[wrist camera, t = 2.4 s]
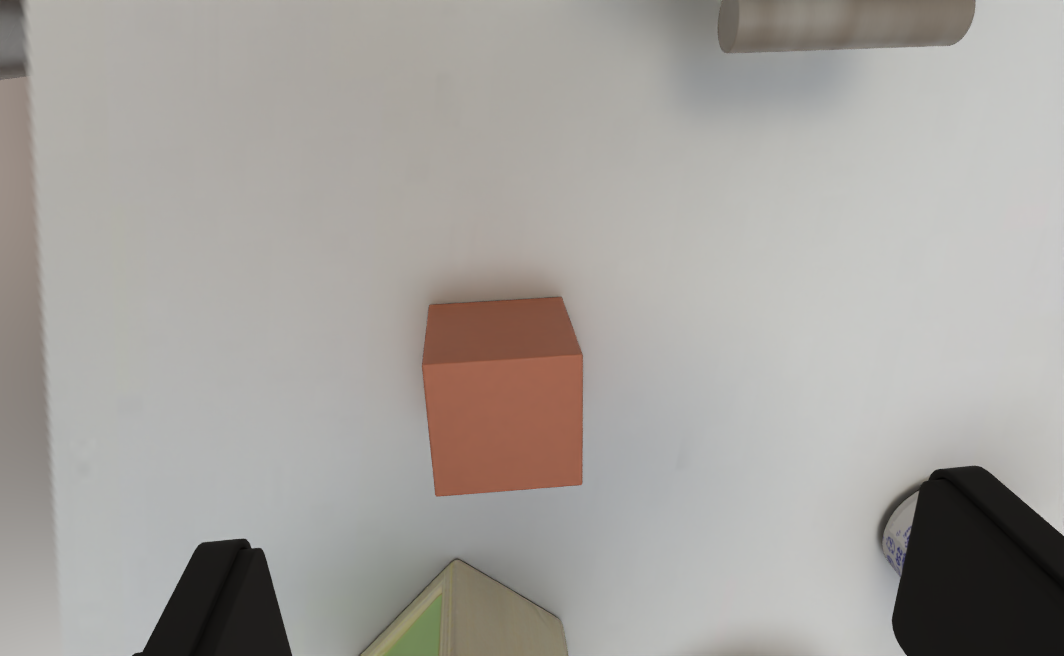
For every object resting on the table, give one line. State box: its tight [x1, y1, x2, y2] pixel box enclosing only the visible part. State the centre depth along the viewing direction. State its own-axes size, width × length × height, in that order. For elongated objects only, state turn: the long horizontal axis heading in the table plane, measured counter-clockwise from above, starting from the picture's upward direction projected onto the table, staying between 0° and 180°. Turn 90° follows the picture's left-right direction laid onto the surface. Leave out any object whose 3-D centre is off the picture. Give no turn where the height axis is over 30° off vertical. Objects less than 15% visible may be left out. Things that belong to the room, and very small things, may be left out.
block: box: [422, 297, 583, 496], centre depth 25 cm, size 5×5×5 cm
